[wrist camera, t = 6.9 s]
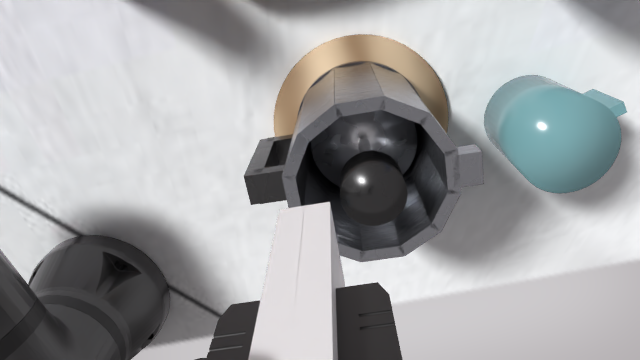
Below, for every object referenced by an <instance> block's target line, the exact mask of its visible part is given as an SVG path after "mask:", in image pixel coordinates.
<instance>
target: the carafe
mask: <svg viewBox="0 0 640 360" xmlns="http://www.w3.org/2000/svg"><path fill="white" fill-rule="evenodd" d="M378 110H384V111H386V112H389V113H392V114H395V115H397V116H400V117H403V118H406V119H408V120H411V121H413V122H414V125H415V128H416V133H417V148H416V152H415V156H414V158H413V161H412V163H411V165H410V166H409V168H408V169H407V171H406V172H405V173H404V174H403V175H402V176H403V178H404V181H405V184H406V187H407V194H408V195H407V202H406V205H405V207H404V209H403V211H402V212H401V213H400V214H399V215H398V216H397V217H396V218H395V219H394V220H392V221H390V222H388V223H386V224H383V225H378V226H368V225H363V224H360V223H358V222H356V221H354V220H353V219H351V218H350V217H349V216H348V215H347V214H346V212H345V211H344V209H343V207H342V204H341V198H340V187H339V186H337V185H336V184H334V183H332V182H331V181H330V180H328V179H327V178H326V177H325V176H324V175H323V174H322V172H321V171H320V170H319V168H318V166H317V165H316V163H315V160H314V158H313V154H312V148H311V140H312V139H313V138H315V137H316V136H317V135H318V134H319V133H321V132H322V131H323V130H324V129H326V128H327V127H328V126H329V125H331V124H332V123H333V122H334V121H336V120H337V119H338V118H339V117H342V116H348V115H354V114H360V113H366V112H372V111H378ZM244 179H245V183H246V187H247V191H248V195H249V199H250V203H251V205H253V204H263V203H270V202H276V201H283V200H287V202H288V207H289V208H293V207H299V206H305V205H312V204H318V203H325V202H330V205H331V211H332V216H333V221H334V227H335V232H336V238H337V243H338V249H339V254H340V255H341V256H344V257H347V258H350V259H353V260H356V261H359V262H366V261H373V260H380V259H388V258H395V257H402V256H404V255H405V256H406V255H407V254H409V253H410V252H412V251H413V250H415V249H416V248H418V247H419V246H420V245H422V244H423V243H425V242H426V241H428V240H429V239H431V238H432V237H434V236H435V235H437V234H438V233H440V232H441V231H442V229H443V227H444V225H445V223H446V221H447V219H448V218H449V216H450V214H451V212H452V210H453V208H454V206H455V204H456V202H457V200H458V198H459V196H460V194H461V187H466V186H473V185H480V184H484V181H483V163H482V151H481V150H480V149H479V148H478V146H477V145H476V144H472V145H466V146H459V147H456V146H455V144H454V143H453V142H452V140H451V139H450V138H449V136H448V135H447V133H446V132H445V131H444V129H443V128H442V127H441V125H440V124H439V123H438V121H437V120H436V119H435V117H434V116H433V115H432V113H431V112H430V110H429V109H428V108H427V106H426V105H425V104H424V102H423V101H422V100H421V98H420V96H419V94H418V93H417V91H416V90H415V88H414V87H413V85H412V84H411V83H410V82H409V81H408V80H407V78H405V77H404V76H403V75H402V74H401V73H399V72H398V71H396V70H395V69H393V68H391V67H389V66H387V65H384V64H381V63H377V62H371V61H353V62H348V63H344V64H341V65H338V66H336V67H333V68H332V69H330V70H328V71H326V72H325V73H323V74H322V75H321V76H319V77H318V78H317V79H316V80H315V81H314V82H313V84H312V85H311V86H310V87H309V89H308V90H307V92H306V93H305V95H304V97H303V99H302V102H301V104H300V108H299V111H298V116H297V121H296V124H295V128H294V132H293V134H291V135H284V136H278V137H272V138H268V139H262V140H260V142H259V144H258V146H257V148H256V150H255V153H254V155H253V157H252V159H251V161H250V164H249V166H248V168H247V170H246V172H245V175H244Z"/></svg>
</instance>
